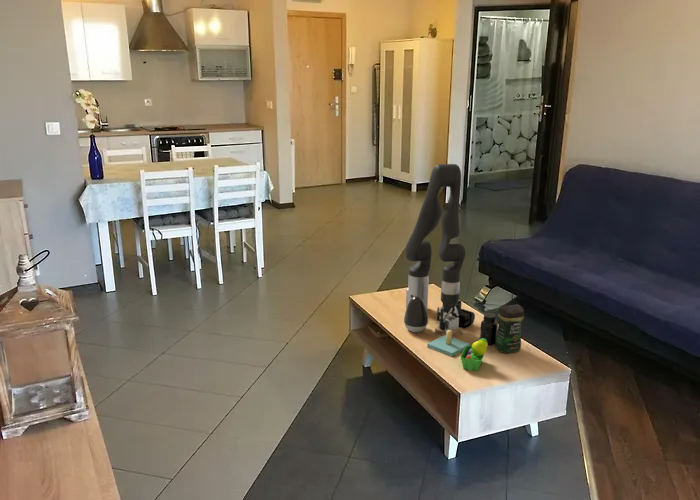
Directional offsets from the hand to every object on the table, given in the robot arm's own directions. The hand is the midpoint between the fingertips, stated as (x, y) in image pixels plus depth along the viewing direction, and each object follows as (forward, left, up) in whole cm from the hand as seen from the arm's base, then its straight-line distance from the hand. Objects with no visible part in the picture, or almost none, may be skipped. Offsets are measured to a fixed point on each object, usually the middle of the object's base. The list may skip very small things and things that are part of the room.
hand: (448, 326), depth 245 cm
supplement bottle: (+17, +4, -3) cm, 18 cm away
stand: (0, 0, -3) cm, 3 cm away
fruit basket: (+24, -17, -3) cm, 30 cm away
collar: (0, 0, -1) cm, 1 cm away
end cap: (-2, +12, -3) cm, 13 cm away
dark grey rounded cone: (-12, -7, -3) cm, 14 cm away
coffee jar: (+26, +4, -3) cm, 26 cm away
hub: (+8, -11, -3) cm, 14 cm away
